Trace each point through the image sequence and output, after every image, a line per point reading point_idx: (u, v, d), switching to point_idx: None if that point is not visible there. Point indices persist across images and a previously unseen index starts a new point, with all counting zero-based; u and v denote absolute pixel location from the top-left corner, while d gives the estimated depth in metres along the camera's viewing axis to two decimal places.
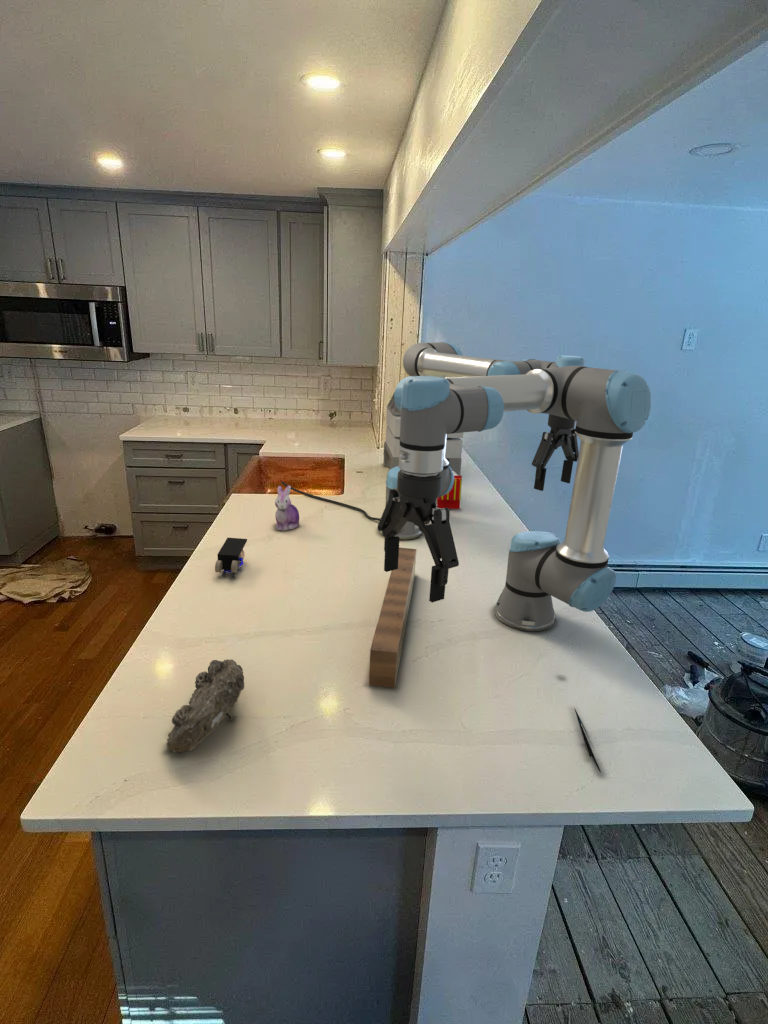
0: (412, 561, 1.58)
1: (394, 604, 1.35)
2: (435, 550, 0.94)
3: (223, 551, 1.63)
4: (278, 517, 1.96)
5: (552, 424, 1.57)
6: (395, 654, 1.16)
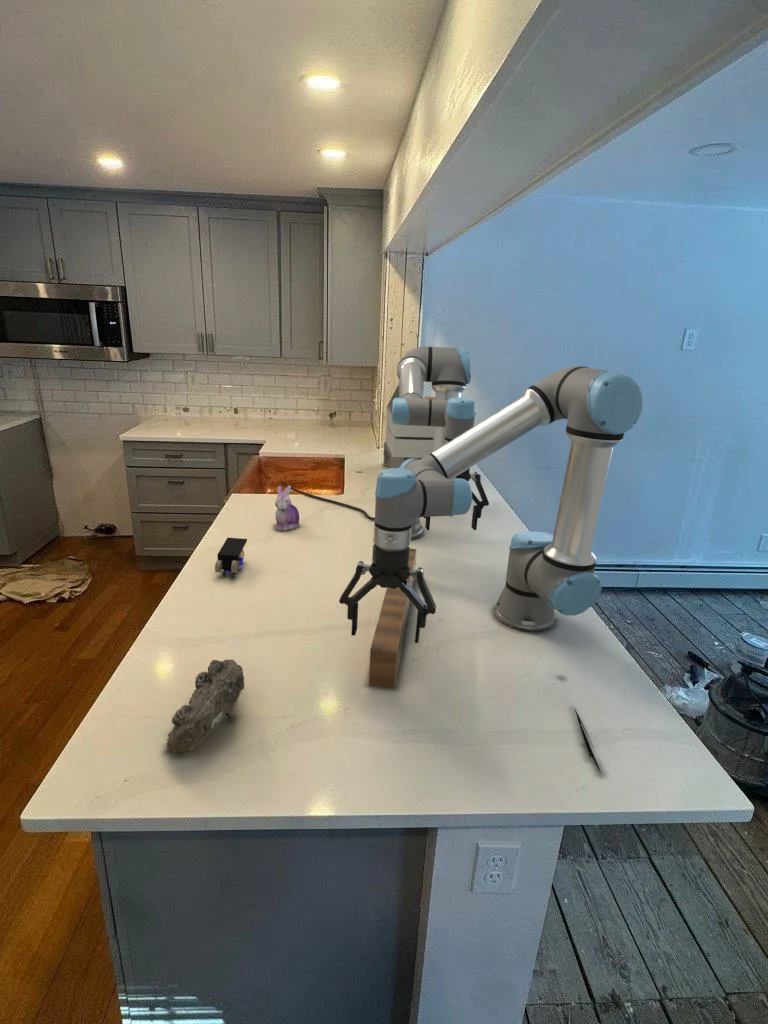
0: (412, 561, 1.58)
1: (394, 604, 1.35)
2: (419, 602, 1.17)
3: (223, 551, 1.63)
4: (278, 517, 1.96)
5: None
6: (395, 654, 1.16)
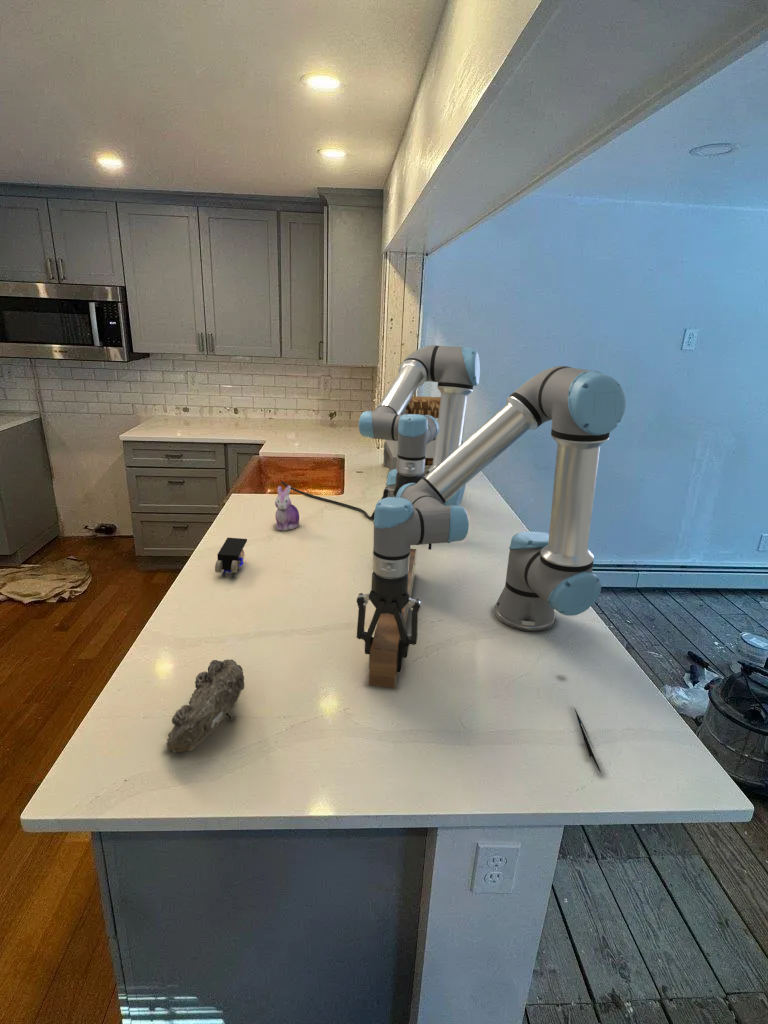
0: (412, 561, 1.58)
1: None
2: (405, 633, 1.20)
3: (223, 551, 1.63)
4: (278, 517, 1.96)
5: None
6: (395, 654, 1.16)
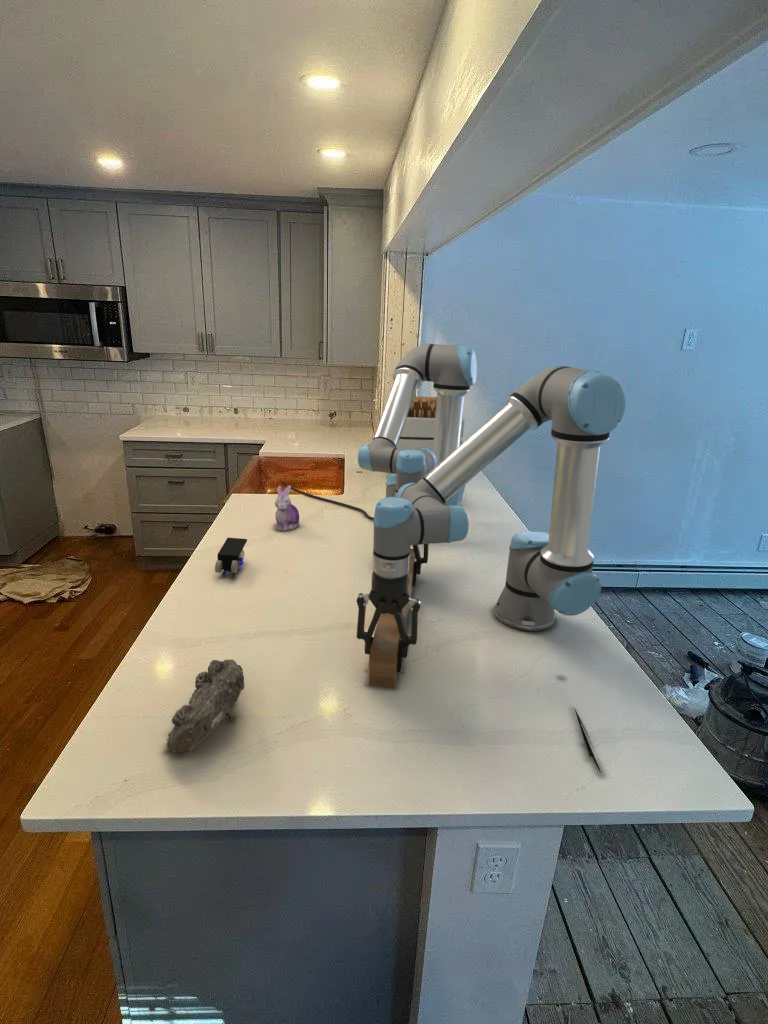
0: (412, 561, 1.58)
1: None
2: (405, 633, 1.20)
3: (223, 551, 1.63)
4: (278, 517, 1.96)
5: None
6: (395, 654, 1.16)
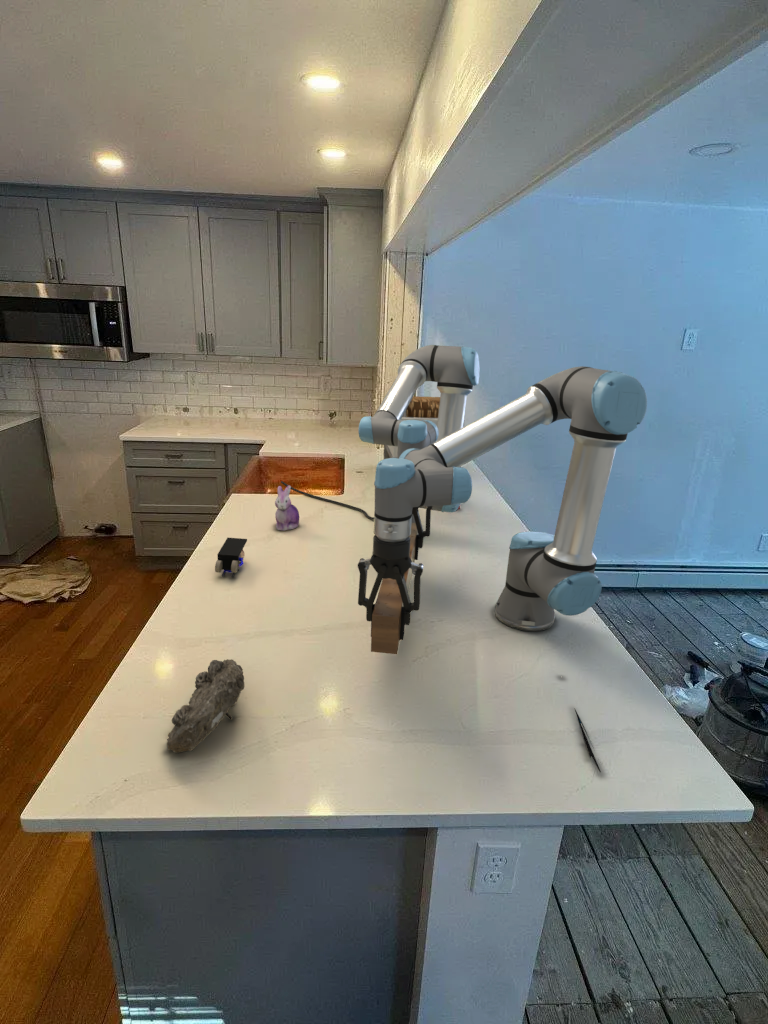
0: (414, 534, 1.55)
1: None
2: (407, 599, 1.17)
3: (223, 551, 1.63)
4: (278, 517, 1.96)
5: None
6: (397, 619, 1.13)
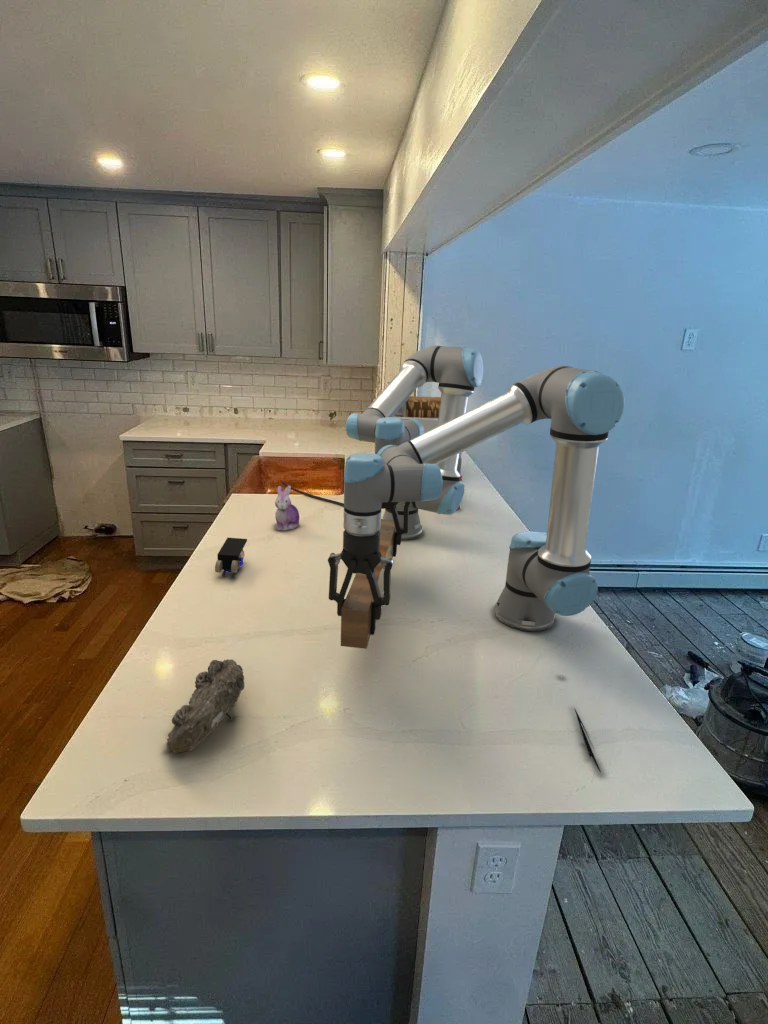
0: (392, 531, 1.56)
1: None
2: (377, 594, 1.18)
3: (223, 551, 1.63)
4: (278, 517, 1.96)
5: None
6: (366, 613, 1.14)
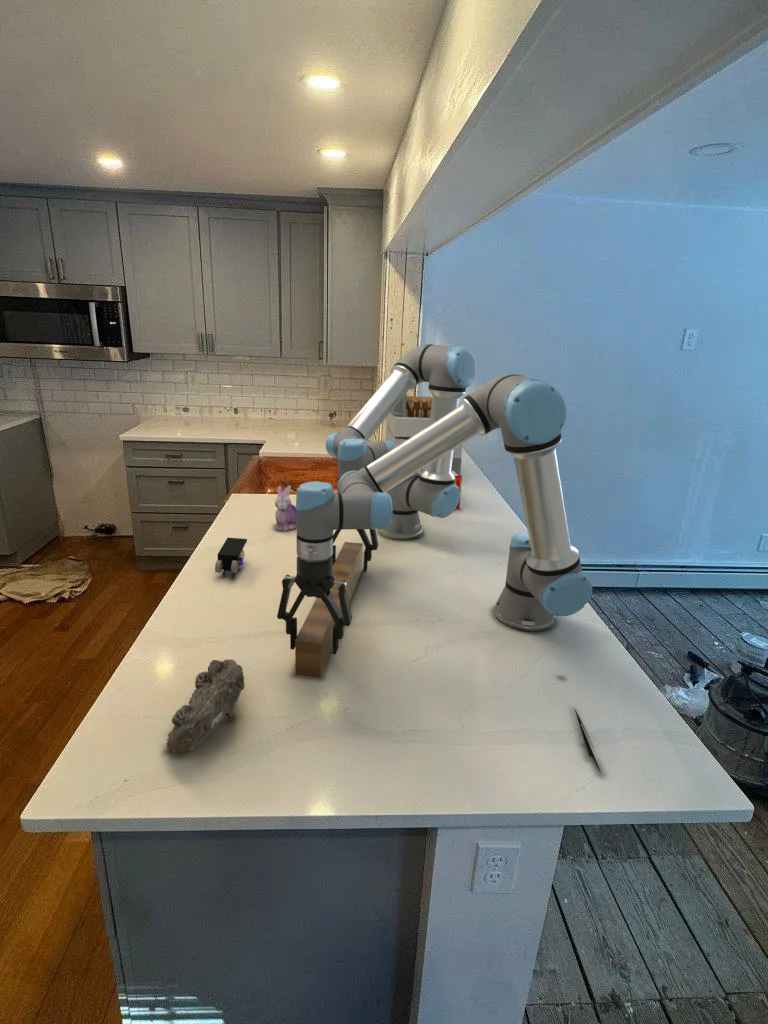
0: (356, 555, 1.60)
1: None
2: (337, 615, 1.21)
3: (223, 551, 1.63)
4: (278, 517, 1.96)
5: None
6: (319, 644, 1.18)
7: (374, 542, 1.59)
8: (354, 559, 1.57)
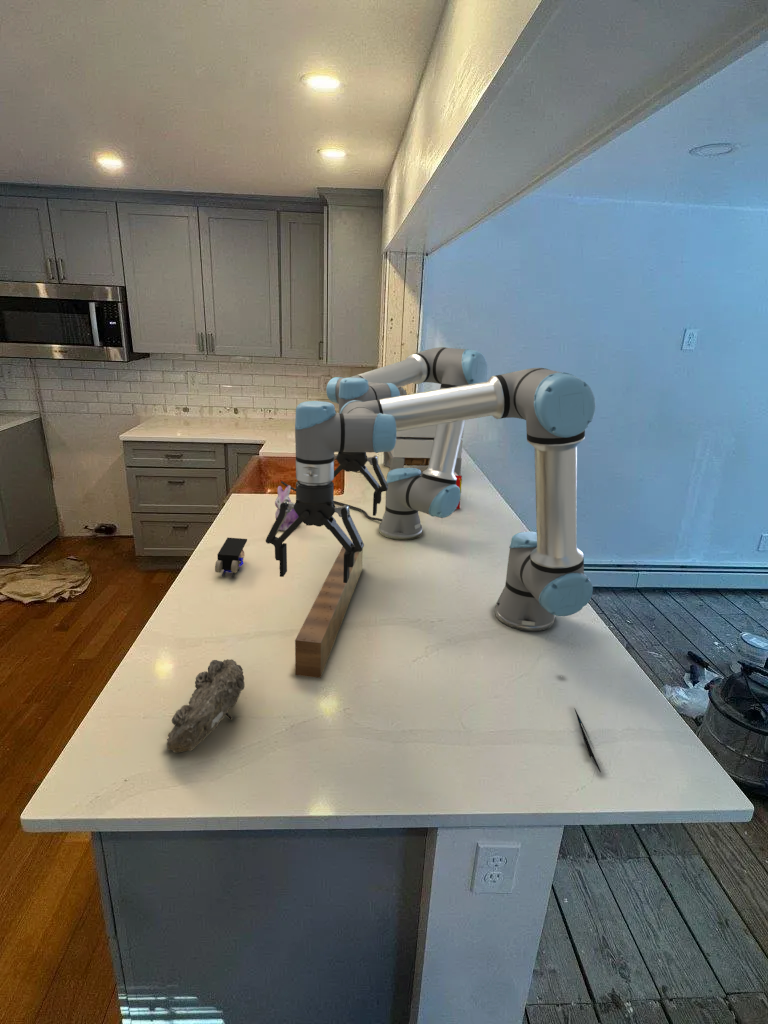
0: (356, 555, 1.60)
1: (328, 596, 1.37)
2: (345, 540, 1.15)
3: (223, 551, 1.63)
4: None
5: None
6: (319, 644, 1.18)
7: (382, 483, 1.53)
8: None
